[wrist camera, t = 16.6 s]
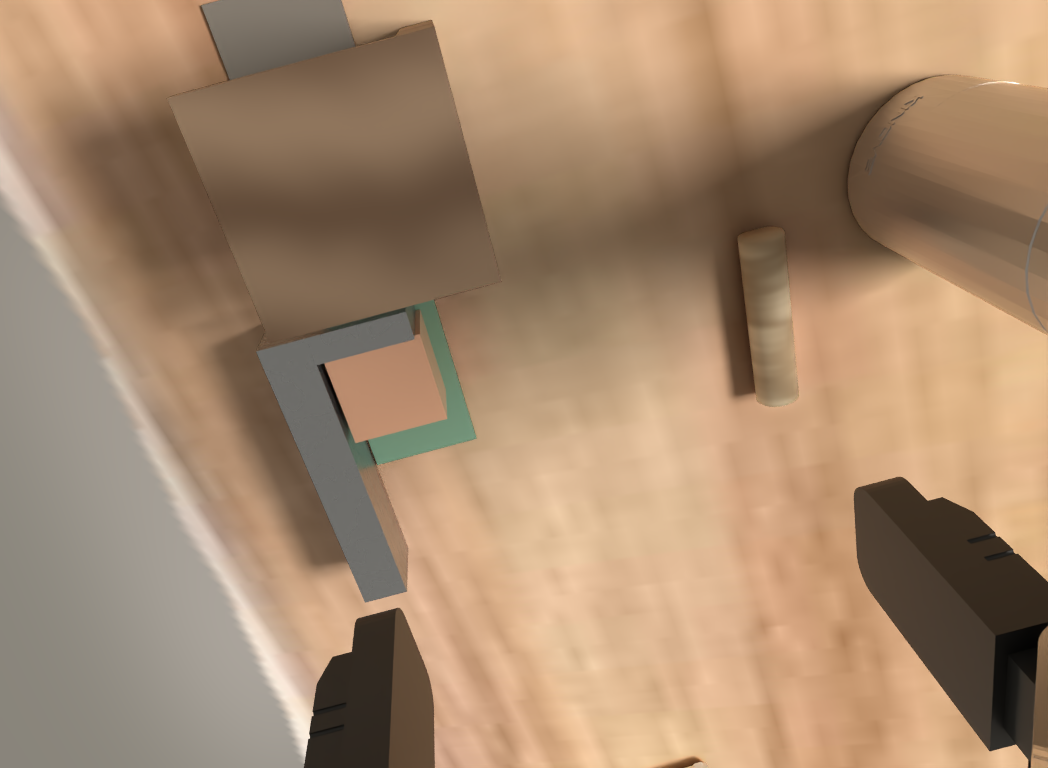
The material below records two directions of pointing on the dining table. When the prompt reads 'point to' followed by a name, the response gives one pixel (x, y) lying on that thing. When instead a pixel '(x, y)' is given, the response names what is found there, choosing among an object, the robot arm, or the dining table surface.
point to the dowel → (769, 315)
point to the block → (390, 387)
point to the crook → (342, 444)
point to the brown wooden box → (342, 183)
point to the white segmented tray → (699, 765)
